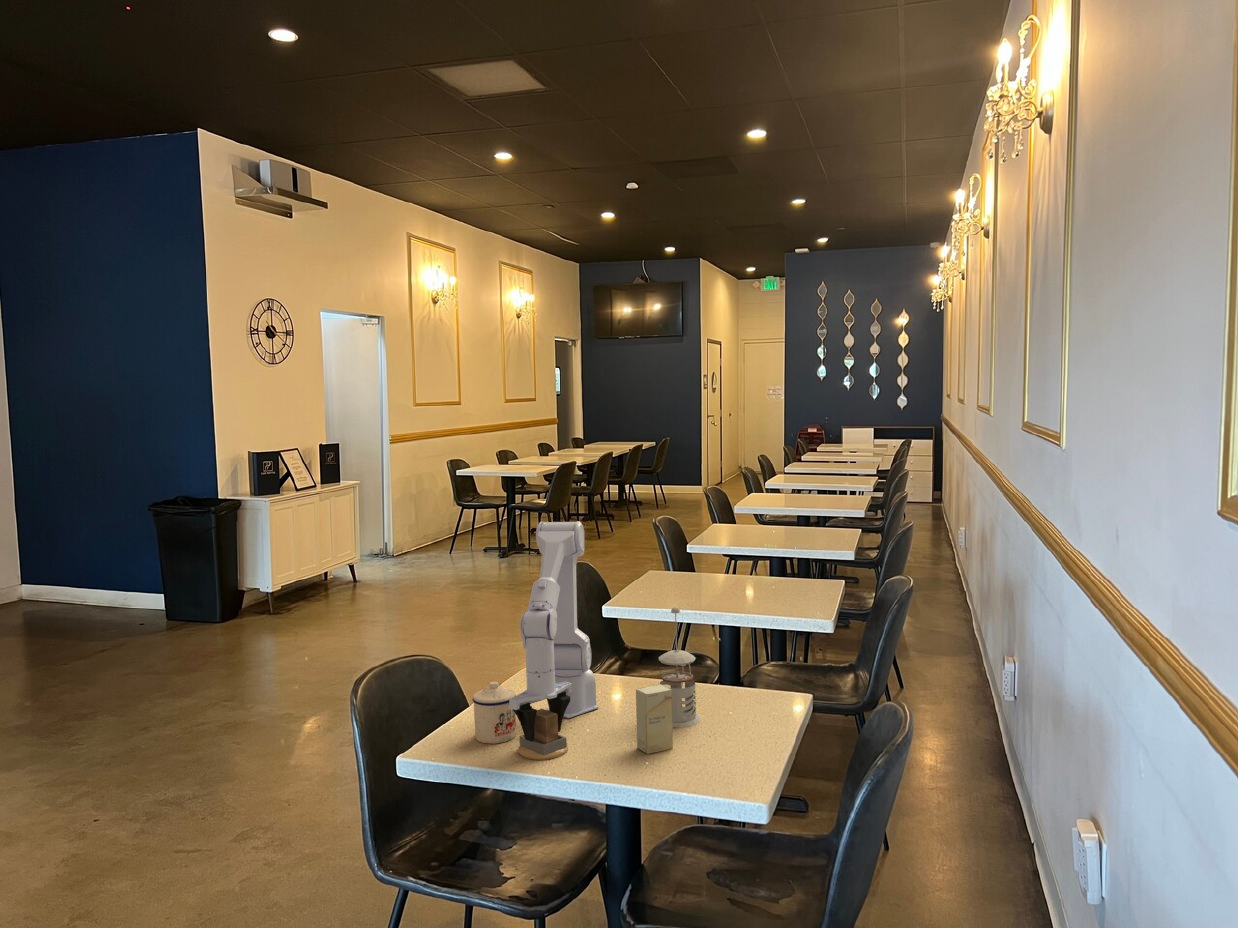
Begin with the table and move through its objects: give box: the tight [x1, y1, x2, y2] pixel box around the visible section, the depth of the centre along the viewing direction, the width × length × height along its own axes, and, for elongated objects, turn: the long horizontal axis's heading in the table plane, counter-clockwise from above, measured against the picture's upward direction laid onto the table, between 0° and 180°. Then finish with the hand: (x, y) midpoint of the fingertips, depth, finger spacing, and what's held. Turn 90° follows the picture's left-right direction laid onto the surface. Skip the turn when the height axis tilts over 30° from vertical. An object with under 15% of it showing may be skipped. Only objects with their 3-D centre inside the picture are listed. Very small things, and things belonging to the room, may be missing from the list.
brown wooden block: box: [534, 708, 559, 744], centre depth 181 cm, size 3×5×7 cm, turn 44°
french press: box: [657, 606, 702, 728], centre depth 197 cm, size 10×12×25 cm
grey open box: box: [518, 734, 569, 761], centre depth 182 cm, size 10×10×3 cm
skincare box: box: [635, 684, 674, 754], centre depth 181 cm, size 6×4×12 cm
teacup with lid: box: [471, 681, 517, 744], centre depth 191 cm, size 12×9×12 cm
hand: (542, 735), depth 181 cm, fingers open, 6 cm apart
